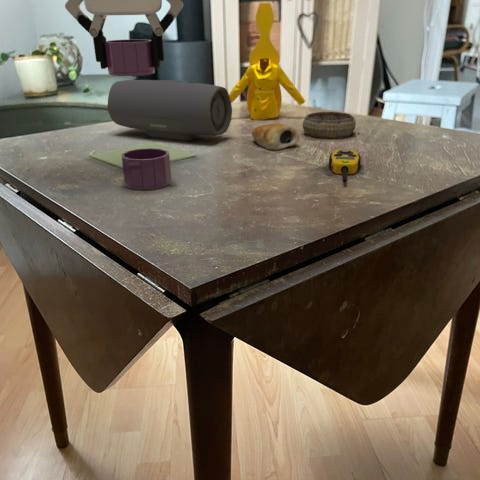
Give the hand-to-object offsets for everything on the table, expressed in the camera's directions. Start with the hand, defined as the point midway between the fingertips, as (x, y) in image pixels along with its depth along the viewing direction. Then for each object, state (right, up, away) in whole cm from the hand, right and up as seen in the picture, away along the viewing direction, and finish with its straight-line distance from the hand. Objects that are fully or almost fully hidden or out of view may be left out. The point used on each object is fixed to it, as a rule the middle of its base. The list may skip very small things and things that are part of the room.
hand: (131, 66), depth 78 cm
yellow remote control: (+31, -14, +4) cm, 35 cm away
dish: (0, -1, 0) cm, 1 cm away
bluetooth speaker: (+2, -1, +27) cm, 27 cm away
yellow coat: (+21, +8, +42) cm, 48 cm away
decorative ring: (+33, -1, +27) cm, 43 cm away
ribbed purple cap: (+2, -17, 0) cm, 17 cm away
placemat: (-1, -9, +14) cm, 16 cm away
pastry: (+22, -5, +20) cm, 30 cm away
